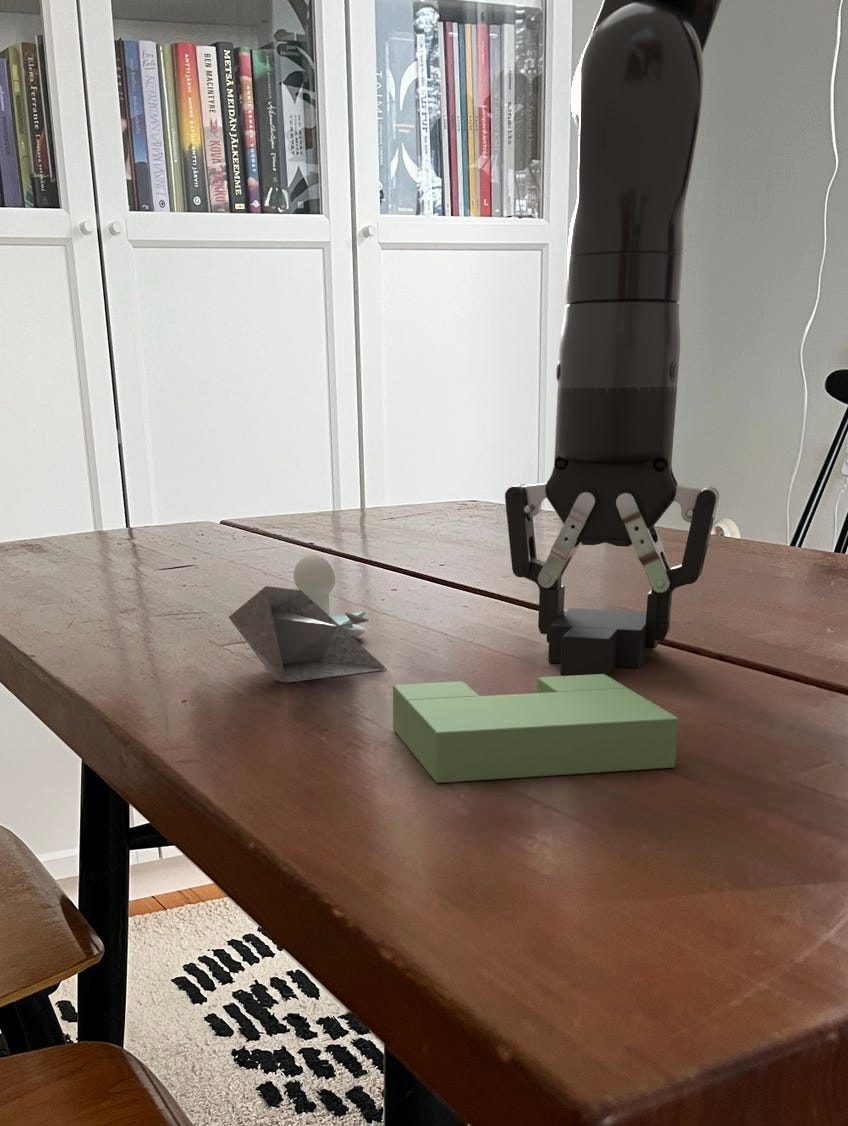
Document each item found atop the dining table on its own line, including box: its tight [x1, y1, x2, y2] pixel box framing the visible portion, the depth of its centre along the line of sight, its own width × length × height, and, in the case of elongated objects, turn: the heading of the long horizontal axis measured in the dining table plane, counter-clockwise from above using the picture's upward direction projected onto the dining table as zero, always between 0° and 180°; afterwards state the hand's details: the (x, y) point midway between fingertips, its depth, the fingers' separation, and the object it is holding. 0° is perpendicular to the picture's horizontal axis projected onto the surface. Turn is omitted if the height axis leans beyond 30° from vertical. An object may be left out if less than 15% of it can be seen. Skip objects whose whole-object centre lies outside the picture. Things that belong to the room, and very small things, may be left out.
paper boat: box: [228, 585, 388, 684], centre depth 79 cm, size 12×6×9 cm
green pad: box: [392, 674, 680, 784], centre depth 65 cm, size 12×10×2 cm
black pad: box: [547, 607, 652, 677], centre depth 84 cm, size 6×10×2 cm, turn 161°
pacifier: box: [293, 554, 366, 638], centre depth 91 cm, size 7×6×6 cm
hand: (601, 643), depth 86 cm, fingers closed on black pad, 6 cm apart
